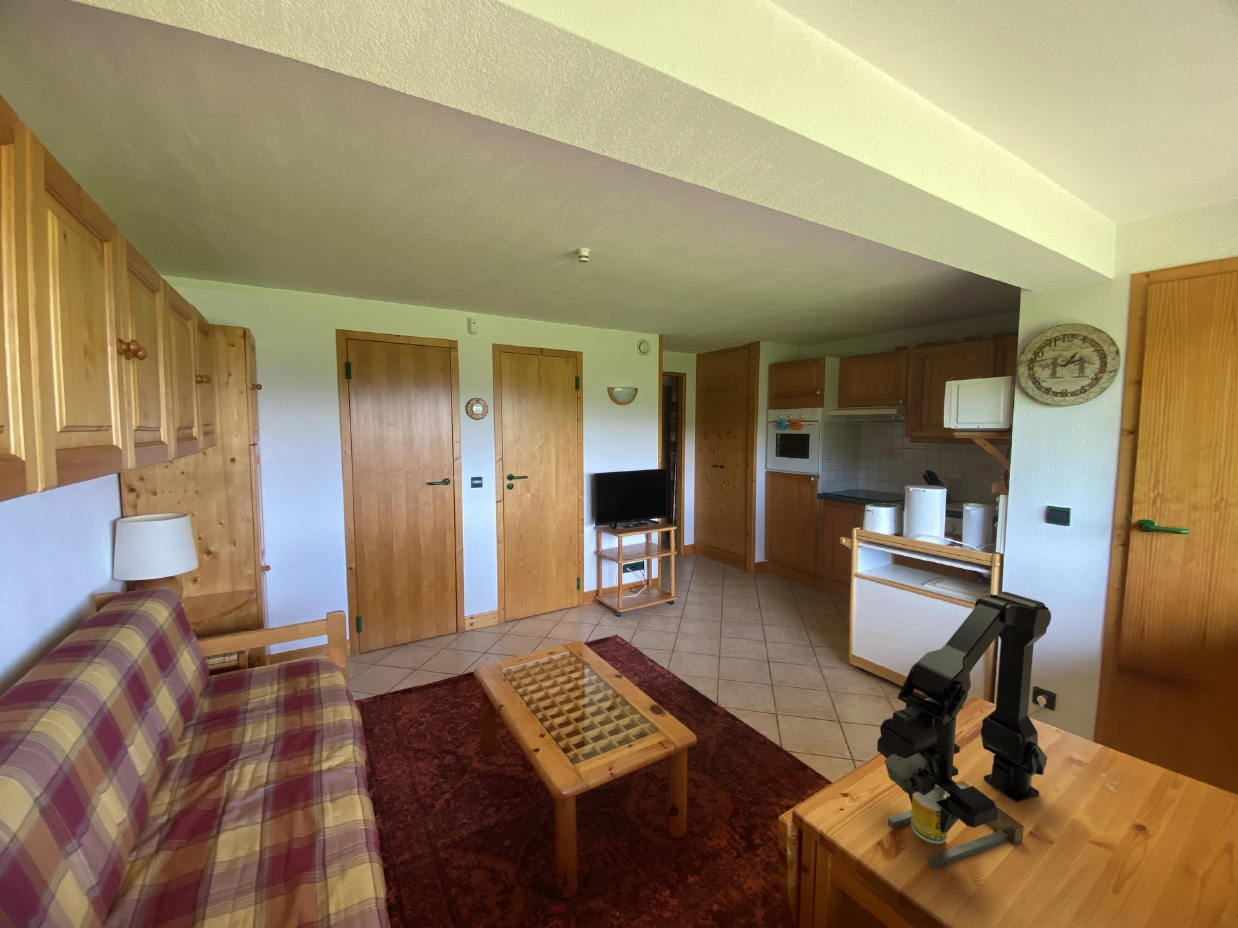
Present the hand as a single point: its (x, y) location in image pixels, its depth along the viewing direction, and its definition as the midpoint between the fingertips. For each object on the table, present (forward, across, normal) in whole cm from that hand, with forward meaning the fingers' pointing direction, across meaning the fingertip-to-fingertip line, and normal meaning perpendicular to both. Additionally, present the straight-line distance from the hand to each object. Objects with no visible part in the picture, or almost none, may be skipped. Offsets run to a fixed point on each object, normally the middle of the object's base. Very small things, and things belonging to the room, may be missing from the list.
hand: (929, 818), depth 86 cm
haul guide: (+4, 0, +5) cm, 6 cm away
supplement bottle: (+3, 0, 0) cm, 3 cm away
